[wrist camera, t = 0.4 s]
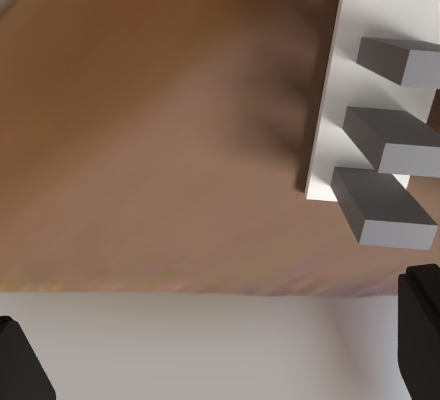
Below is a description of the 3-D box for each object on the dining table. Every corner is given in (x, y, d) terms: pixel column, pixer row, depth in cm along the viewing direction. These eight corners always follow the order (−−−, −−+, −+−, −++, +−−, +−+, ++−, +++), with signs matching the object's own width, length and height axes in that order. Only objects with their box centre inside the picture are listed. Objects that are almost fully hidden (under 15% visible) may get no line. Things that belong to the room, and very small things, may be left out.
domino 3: (334, 166, 36) (365, 219, 27) (389, 170, 36) (438, 225, 27) (330, 186, 37) (358, 244, 28) (383, 190, 37) (429, 250, 28)
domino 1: (361, 36, 31) (410, 49, 22) (425, 41, 31) (499, 56, 22) (356, 63, 32) (400, 86, 23) (417, 67, 32) (486, 92, 23)
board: (368, -166, 27) (374, -173, 26) (502, -157, 27) (513, -163, 26) (304, 193, 39) (306, 198, 38) (396, 200, 39) (400, 206, 38)
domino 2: (347, 106, 34) (385, 143, 25) (405, 110, 34) (465, 149, 25) (342, 129, 35) (377, 172, 26) (399, 133, 35) (455, 178, 26)
